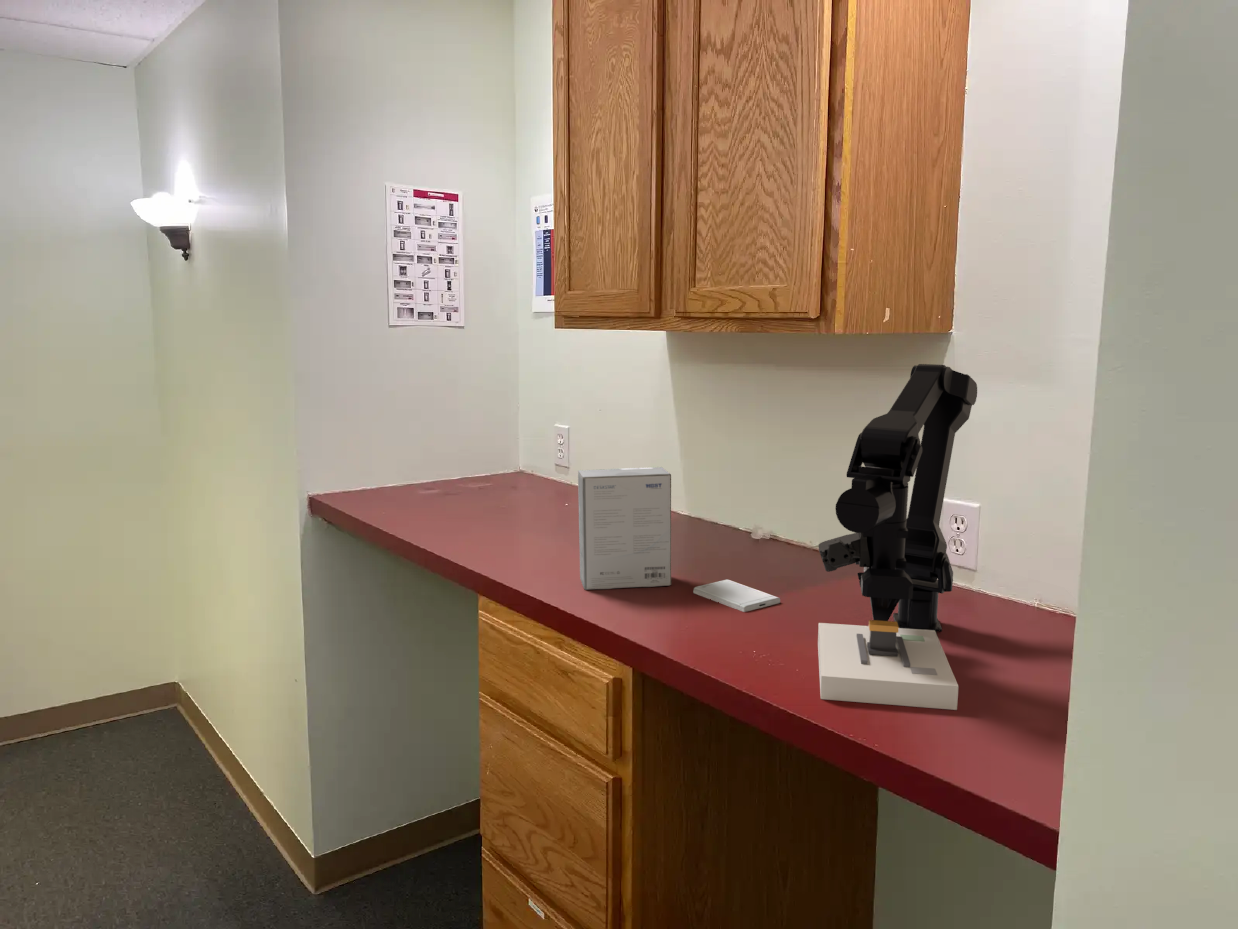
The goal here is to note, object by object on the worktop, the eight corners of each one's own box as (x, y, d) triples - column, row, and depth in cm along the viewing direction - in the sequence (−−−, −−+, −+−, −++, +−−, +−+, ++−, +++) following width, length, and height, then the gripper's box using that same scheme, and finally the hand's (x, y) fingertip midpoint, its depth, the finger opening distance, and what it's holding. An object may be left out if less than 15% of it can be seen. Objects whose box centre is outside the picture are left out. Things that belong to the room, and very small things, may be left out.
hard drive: (693, 587, 156) (744, 605, 146) (728, 578, 161) (780, 596, 151) (693, 596, 156) (743, 615, 146) (728, 587, 161) (780, 605, 151)
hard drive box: (663, 574, 167) (664, 466, 164) (671, 587, 160) (673, 473, 156) (578, 578, 165) (577, 468, 162) (583, 590, 157) (582, 476, 154)
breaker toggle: (867, 645, 123) (868, 618, 122) (895, 647, 122) (896, 620, 122) (868, 654, 120) (870, 626, 119) (897, 656, 119) (899, 628, 119)
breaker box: (817, 642, 133) (818, 619, 132) (933, 650, 130) (935, 627, 129) (820, 699, 113) (821, 672, 113) (956, 710, 110) (958, 682, 110)
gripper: (821, 502, 135) (817, 604, 137) (825, 531, 117) (820, 649, 119) (900, 505, 133) (895, 609, 135) (916, 536, 114) (909, 655, 117)
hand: (878, 629), depth 127 cm, fingers closed
